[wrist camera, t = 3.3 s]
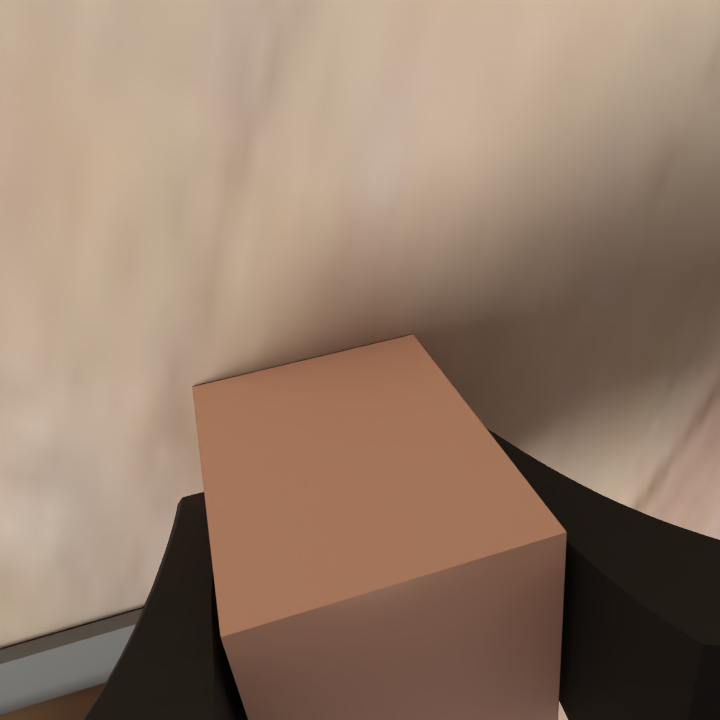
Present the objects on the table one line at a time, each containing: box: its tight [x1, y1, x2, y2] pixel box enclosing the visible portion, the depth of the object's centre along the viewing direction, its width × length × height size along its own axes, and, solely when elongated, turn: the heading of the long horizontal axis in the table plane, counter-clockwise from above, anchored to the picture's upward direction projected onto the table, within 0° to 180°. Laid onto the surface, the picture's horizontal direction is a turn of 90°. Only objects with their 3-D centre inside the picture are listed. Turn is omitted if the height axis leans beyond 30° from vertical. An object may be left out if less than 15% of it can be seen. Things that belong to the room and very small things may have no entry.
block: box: [192, 335, 567, 720], centre depth 12 cm, size 4×4×6 cm
